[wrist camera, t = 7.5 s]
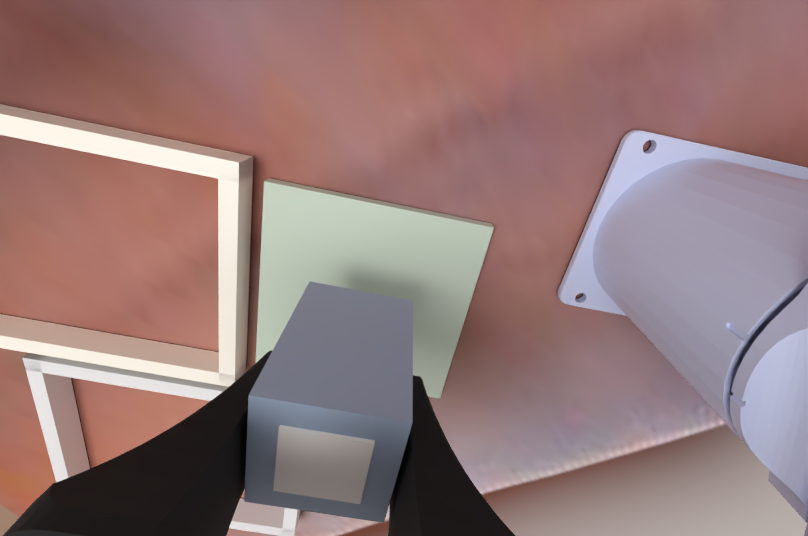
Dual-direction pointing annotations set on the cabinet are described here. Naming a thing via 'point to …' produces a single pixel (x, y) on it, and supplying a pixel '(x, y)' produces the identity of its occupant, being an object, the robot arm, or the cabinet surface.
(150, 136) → the cream rectangular frame
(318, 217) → the green mat
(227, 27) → the cabinet surface
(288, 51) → the cabinet surface
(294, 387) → the slate block
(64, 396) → the grey rectangular frame
